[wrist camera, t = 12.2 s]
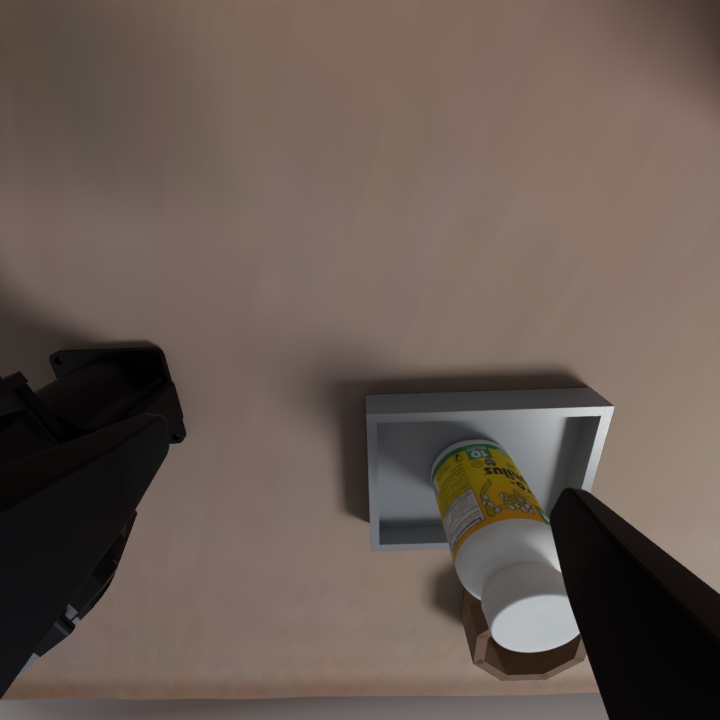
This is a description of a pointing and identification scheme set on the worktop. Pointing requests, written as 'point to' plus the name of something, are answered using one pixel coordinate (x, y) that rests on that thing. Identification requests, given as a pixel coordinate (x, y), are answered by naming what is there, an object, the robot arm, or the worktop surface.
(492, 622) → the supplement bottle
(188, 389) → the worktop surface
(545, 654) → the cup holder
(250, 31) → the worktop surface
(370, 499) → the tray
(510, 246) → the worktop surface
